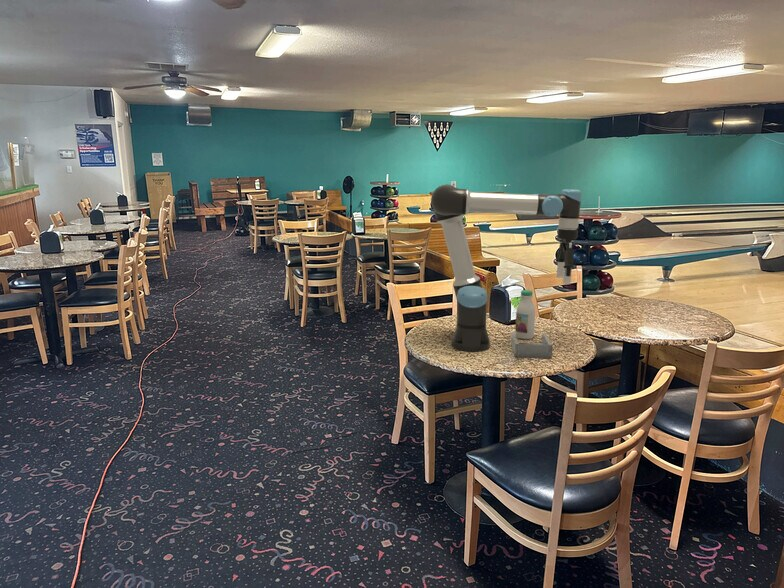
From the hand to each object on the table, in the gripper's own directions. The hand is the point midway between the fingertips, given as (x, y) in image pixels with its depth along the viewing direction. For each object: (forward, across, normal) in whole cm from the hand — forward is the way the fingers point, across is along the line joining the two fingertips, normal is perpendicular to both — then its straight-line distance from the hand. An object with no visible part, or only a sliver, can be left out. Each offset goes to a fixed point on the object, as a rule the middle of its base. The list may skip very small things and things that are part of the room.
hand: (563, 280), depth 215 cm
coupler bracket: (+25, -17, +14) cm, 33 cm away
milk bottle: (+25, 0, +14) cm, 29 cm away
